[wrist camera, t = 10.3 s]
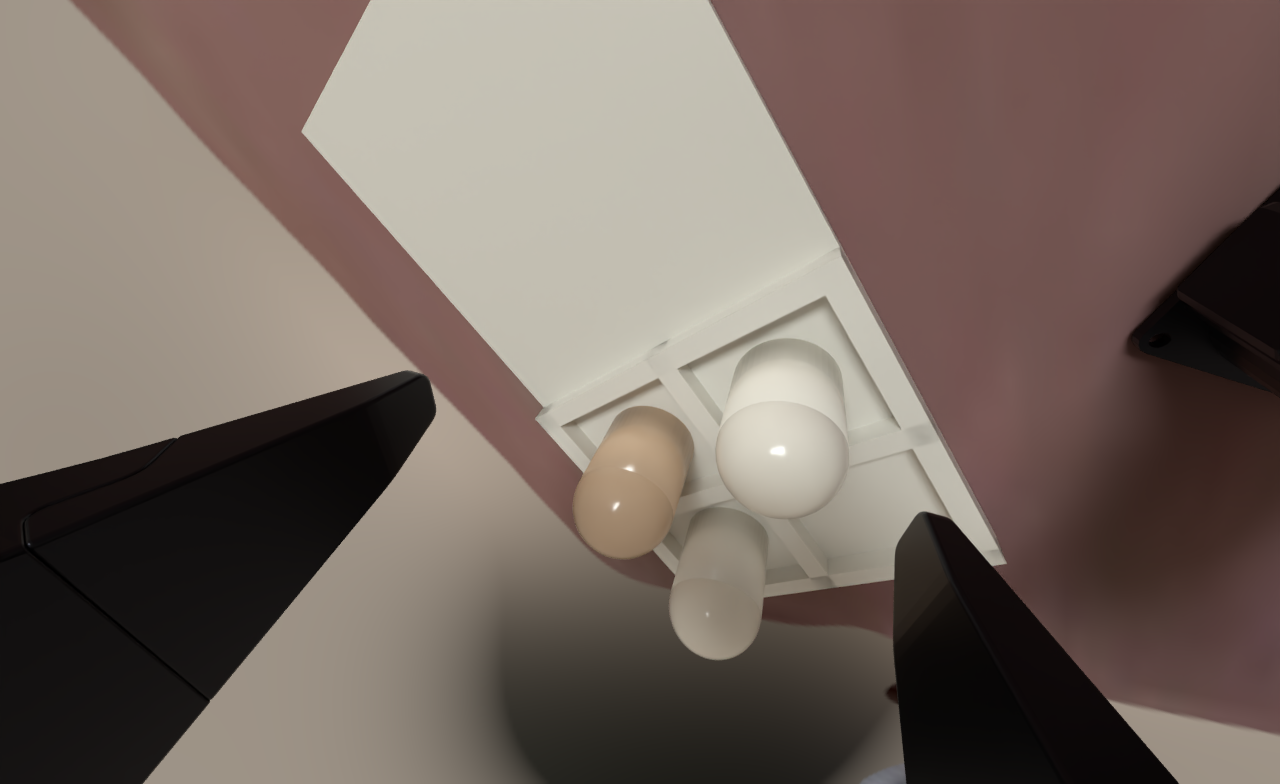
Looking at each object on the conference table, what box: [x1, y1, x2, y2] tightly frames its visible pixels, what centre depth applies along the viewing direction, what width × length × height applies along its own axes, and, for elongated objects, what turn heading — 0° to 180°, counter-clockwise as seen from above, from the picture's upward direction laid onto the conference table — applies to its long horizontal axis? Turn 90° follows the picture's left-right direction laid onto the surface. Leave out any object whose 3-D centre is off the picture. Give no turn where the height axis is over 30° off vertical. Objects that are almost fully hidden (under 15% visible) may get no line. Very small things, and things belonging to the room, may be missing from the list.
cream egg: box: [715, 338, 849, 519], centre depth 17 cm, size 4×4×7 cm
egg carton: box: [302, 0, 1007, 598], centre depth 20 cm, size 32×16×2 cm, turn 37°
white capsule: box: [669, 507, 769, 660], centre depth 23 cm, size 4×4×7 cm
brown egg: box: [573, 406, 694, 559], centre depth 21 cm, size 4×4×7 cm
